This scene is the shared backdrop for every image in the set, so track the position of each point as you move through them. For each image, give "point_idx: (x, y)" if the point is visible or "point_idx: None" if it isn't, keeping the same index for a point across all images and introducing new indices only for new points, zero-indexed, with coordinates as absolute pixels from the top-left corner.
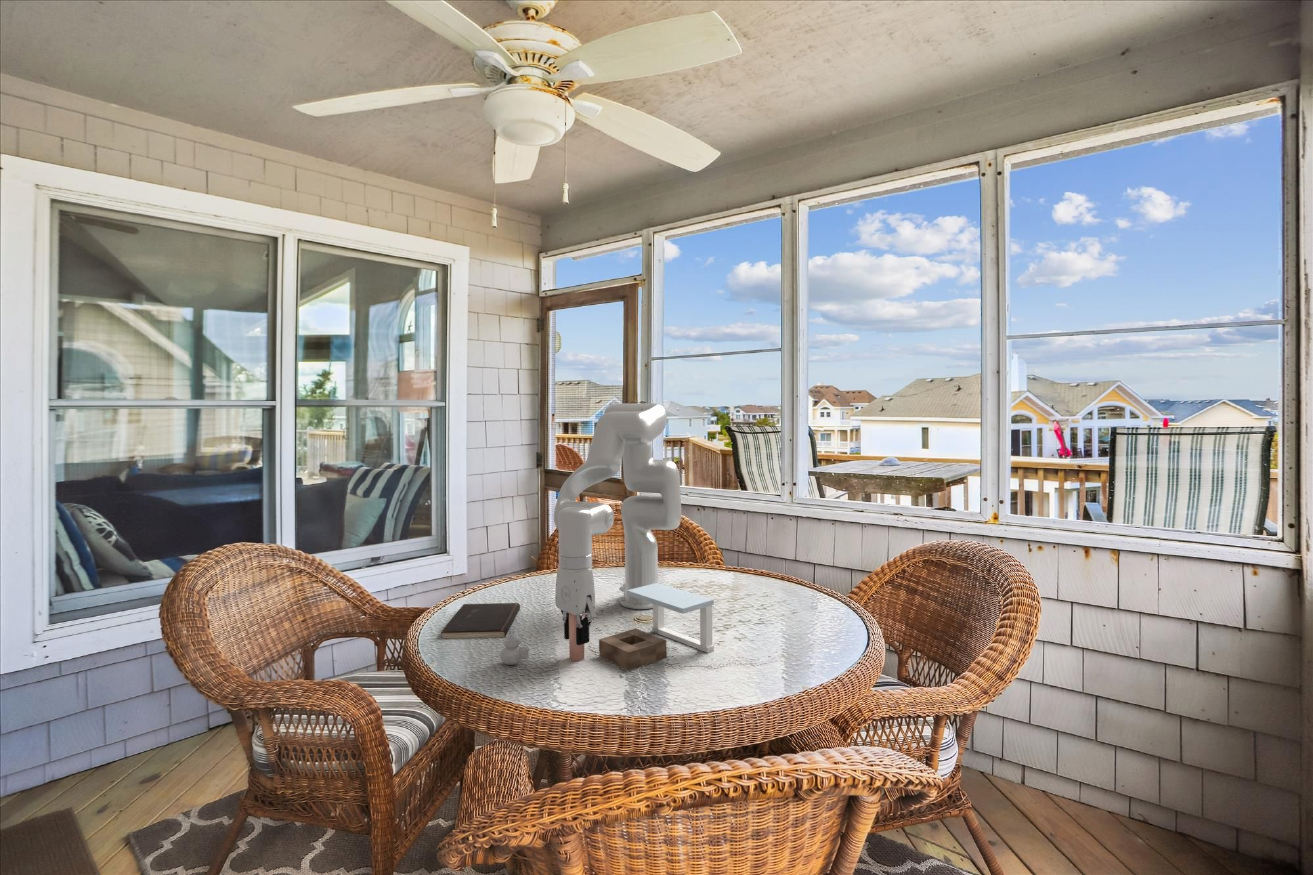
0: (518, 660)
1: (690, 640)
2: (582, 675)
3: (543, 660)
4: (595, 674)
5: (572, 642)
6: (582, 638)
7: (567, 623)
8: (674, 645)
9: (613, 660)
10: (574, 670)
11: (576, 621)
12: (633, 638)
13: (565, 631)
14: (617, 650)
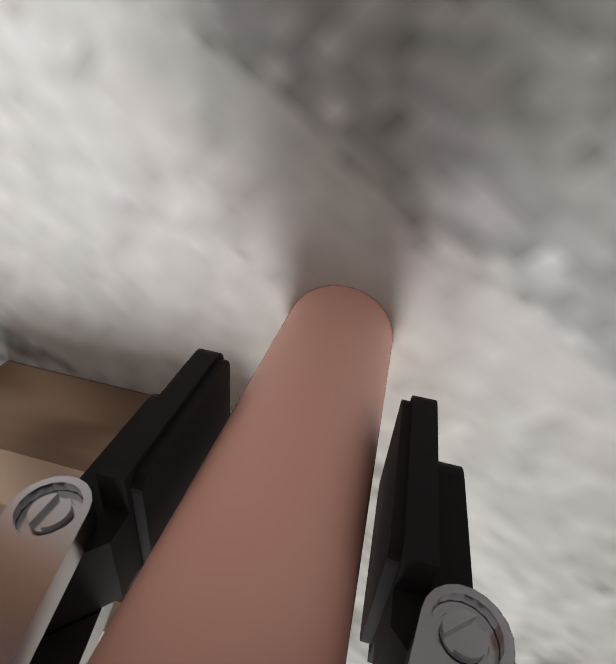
0: None
1: (99, 640)
2: (72, 146)
3: (552, 142)
4: (45, 217)
5: (287, 365)
6: (141, 407)
7: (387, 559)
8: None
9: (122, 400)
10: (178, 171)
11: (138, 582)
12: None
13: (409, 454)
14: (35, 439)
